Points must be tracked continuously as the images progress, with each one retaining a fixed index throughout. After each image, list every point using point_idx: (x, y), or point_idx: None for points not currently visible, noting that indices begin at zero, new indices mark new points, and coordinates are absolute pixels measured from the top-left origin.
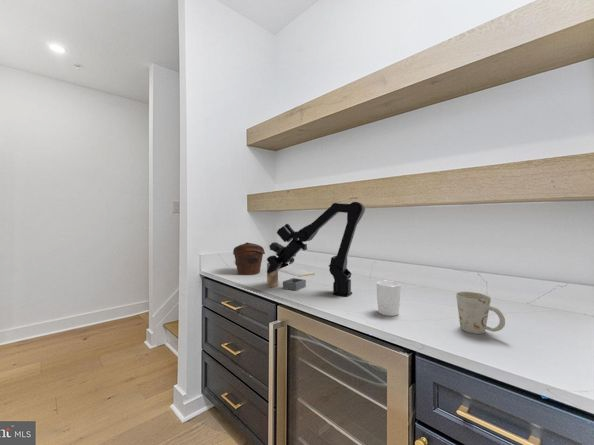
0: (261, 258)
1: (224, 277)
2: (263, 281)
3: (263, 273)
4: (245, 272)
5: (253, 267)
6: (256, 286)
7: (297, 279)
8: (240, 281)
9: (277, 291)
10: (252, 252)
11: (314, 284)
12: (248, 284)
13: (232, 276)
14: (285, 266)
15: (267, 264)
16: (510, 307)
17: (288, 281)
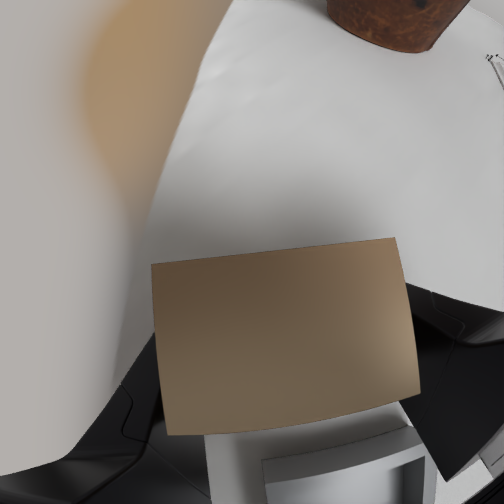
0: (456, 3)
1: (233, 6)
2: (327, 171)
3: (436, 70)
4: (343, 17)
5: (388, 17)
6: (169, 243)
7: (421, 488)
8: (217, 77)
9: None
10: None
11: (474, 492)
12: (183, 156)
13: (274, 10)
14: (440, 467)
15: (159, 286)
16: None
17: (337, 479)
